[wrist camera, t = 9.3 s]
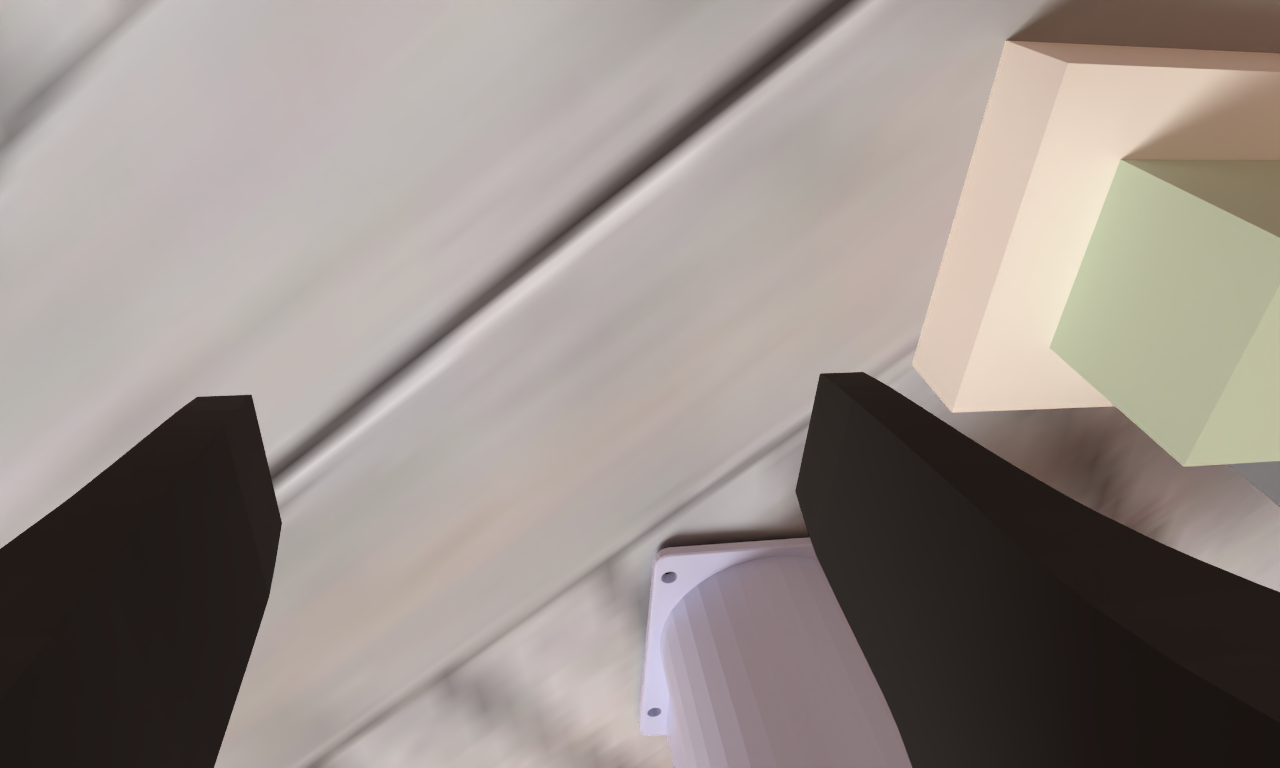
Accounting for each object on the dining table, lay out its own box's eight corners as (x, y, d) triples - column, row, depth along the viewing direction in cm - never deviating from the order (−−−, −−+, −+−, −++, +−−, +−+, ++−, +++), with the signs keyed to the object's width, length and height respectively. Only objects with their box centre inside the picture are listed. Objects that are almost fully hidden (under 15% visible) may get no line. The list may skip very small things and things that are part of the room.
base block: (1165, 349, 26) (1237, 401, 24) (904, 355, 25) (951, 412, 22) (1308, 51, 21) (1416, 77, 19) (994, 36, 20) (1067, 63, 17)
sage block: (1215, 342, 22) (1381, 455, 18) (1049, 347, 21) (1183, 466, 17) (1306, 160, 20) (1526, 244, 15) (1120, 159, 19) (1299, 247, 15)
